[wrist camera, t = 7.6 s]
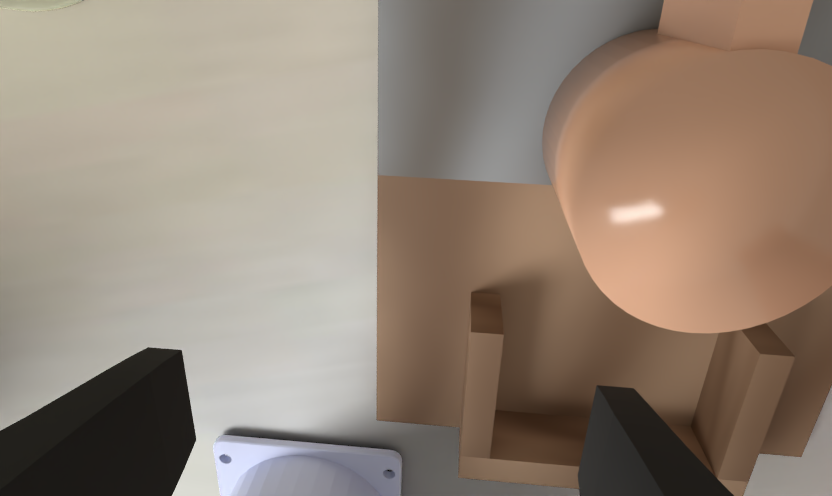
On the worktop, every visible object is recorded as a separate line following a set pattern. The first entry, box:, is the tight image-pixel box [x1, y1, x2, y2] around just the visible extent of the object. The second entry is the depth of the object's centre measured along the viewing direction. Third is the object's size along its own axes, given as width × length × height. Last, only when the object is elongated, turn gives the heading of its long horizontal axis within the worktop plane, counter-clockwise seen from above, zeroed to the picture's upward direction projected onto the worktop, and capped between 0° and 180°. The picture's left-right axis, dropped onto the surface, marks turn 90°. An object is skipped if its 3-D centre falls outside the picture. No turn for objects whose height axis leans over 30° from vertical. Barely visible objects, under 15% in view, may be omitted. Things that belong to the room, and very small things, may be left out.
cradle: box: [377, 0, 832, 496], centre depth 17 cm, size 16×20×3 cm
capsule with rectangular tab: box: [542, 0, 832, 333], centre depth 13 cm, size 6×9×6 cm, turn 178°
